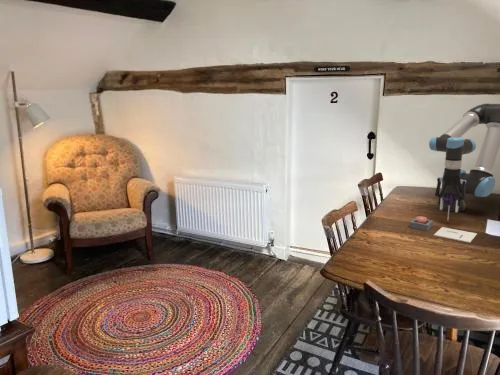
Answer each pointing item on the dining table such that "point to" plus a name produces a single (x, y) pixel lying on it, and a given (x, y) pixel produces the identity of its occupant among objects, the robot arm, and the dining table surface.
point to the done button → (421, 219)
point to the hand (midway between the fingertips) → (448, 210)
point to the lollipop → (449, 201)
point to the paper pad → (455, 234)
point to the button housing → (420, 225)
